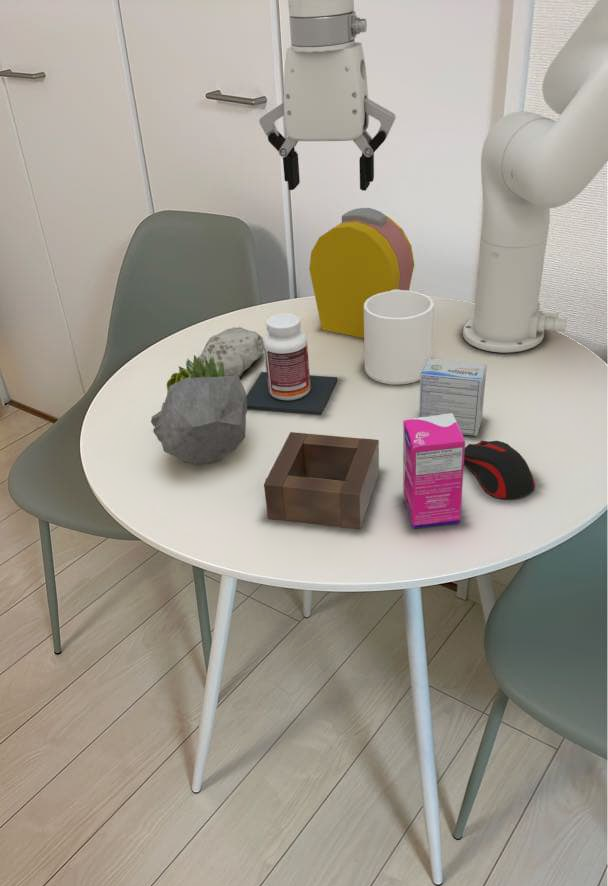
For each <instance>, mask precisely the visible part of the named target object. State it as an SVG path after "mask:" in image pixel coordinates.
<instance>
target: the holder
mask: <svg viewBox="0 0 608 886" xmlns="http://www.w3.org/2000/svg"><path fill="white" fill-rule="evenodd" d="M285 440H286V441H285V442H284V444H283V446H282V448H281V450H280V451H279V454H278V455H277V457H276V459H275V461H274V464H273V465H272V467H271V469H270V471H269V473H268V475H267V477H266V479H265V481H264V483H263V489H264V497H265V505H266V513H267V519H271V520H279V521H280V520H281V521H289V522H297V523H305V524H313V525H323V526H324V525H325V526H330V527H331V526H332V527H338V528H339V527H340V528H341V527H342V528H347V529H354V530H361V529H362V526H363V523H364V520H365V517H366V514H367V509H368V508H369V504H370V502H371V498H372V495H373V492H374V489H375V486H376V484H377V480H378V478H379V474H380V440H379V439H374V438H372V439H371V438H363V437H361V438H359V437H352V436H351V437H350V436H349V437H348V436H338V435H337V436H336V435H327V434H318V433H317V434H315V433H306V432H295V431H290V432H289V434H288V436H287V437H286V439H285Z"/></svg>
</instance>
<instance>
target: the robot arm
mask: <svg viewBox="0 0 608 886" xmlns="http://www.w3.org/2000/svg"><path fill="white" fill-rule="evenodd" d="M287 1H288V3H287V5H288V15H289V16H288V17H289V31H290V32H289V33H290V46H288V47H287V48H286V51H285V60H284V73H283V74H284V75H283V76H284V78H283V81H284V82H283V102H282V103H280V104H279V105H277V106H276V107H275V108H272V109H271V110H270V111H268V112H267V113H265V114H263V116H261V117H260V118H259V121H258V122H259V125H260V126H261V129H262V130H263V132H264V134H265V136H266V137H267V140H268V142H269V144H270V145H272V147H273V148H274V149H275V150H276V151H277V152H278V155H279V156H280V157H281V158H282V166H283V176H284V181H285V182H287V186H288V187H287V188H288V191H294V190H295V189H296V188H297V187H298V186H299V185H300V183H301V182H300V181H301V179H300V178H301V177H300V165H299V153H298V152H297V151H296V150H295V148H296V146H297V144H299V142H350V141H353V143H354V144H355V145H356V146H357V148H358V149H359V150H360V151H361V156H360V157H359V160H358V161H359V190H360V191H363V192H364V191H367V190H368V188H369V187H370V185H371V183H373V181H374V178H375V152H377V150H378V149H379V148H380V146H381V145H382V144H383V143H384V142H385V140H386V139H387V138H388V136H389V134H390V132H391V129H392V128H393V125H394V123H395V121H396V118H397V117H396V114H395V113H394V112H392V111H391V110H389V109H387V108H385V107H384V106H382V105H380V104H379V103H376V102H375V101H373V100H371V99H369V92H368V91H369V89H368V88H369V87H368V79H367V77H368V76H367V68H366V61H365V60H366V59H365V55H364V49H363V45H362V42H358V41H355V39H356V38H357V36H358V35H360V34H361V33H366V32H367V26H368V23H367V18H360V17H358V15H356V12H357V11H356V10H355V0H287ZM541 91H542V97H543V100H544V102H545V104H546V105H547V106H548V107H549V109H551V111H552V112H555V113H556V114H558V115H559V116H558V118H557V119H556V120H554V119H552V118H549V117H546V116H544V115H541V114H538V113H534V112H532V111H524V110H523V111H514V112H511V113H508V114H505V115H504V116H502V117H501V118H500V119H498V120H497V121H496V122H495V123H494V124H493V125H492V127H491V128H490V129H489V131H488V133H487V134H486V136H485V139H484V141H483V145H482V150H481V156H480V174H481V175H480V176H481V190H482V215H481V216H482V217H481V230H480V240H479V251H478V252H479V253H478V264H477V275H476V276H477V277H476V288H475V302H474V313H473V317H472V318H471V319H469V320H467V321H466V322H465V323H464V325H463V326H462V327H463V328H462V337H463V338H464V340H465V341H466V342H467V343H468V344H469V345H471V346H472V347H474V348H477V349H480V350H483V351H486V352H491V353H506V354H507V353H518V352H524V351H527V350H530V349H533V348H535V347H537V346H538V345H539V344H541V343H542V341H543V339H544V337H545V331H553V332H566V329H567V328H566V327H567V320H568V319H567V318H562V317H559V314H560V313H558V312H544V311H543V310H540V305H541V302H539V300H540V291H541V286H542V285H541V284H542V278H543V271H544V262H545V256H546V251H547V250H546V249H547V242H548V237H549V230H550V219H551V209H554V208H559V207H562V206H564V205H566V204H568V203H570V202H572V201H573V200H574V199H575V198H576V197H578V195H580V194H581V193H582V192H583V191H584V190H585V189H587V187H588V185H589V184H590V183H591V182H592V181H593V180H594V178H595V177H596V176H597V175H598V173H600V172H601V170H602V169H603V168H604V166H606V164H607V163H608V0H597V1H596V2H595V3H594V5H593V7H592V8H591V9H590V11H589V12H588V13H587V14H586V16H585V17H584V19H583V20H582V21H581V23H580V24H579V25H578V27H577V28H576V30H575V31H574V32H573V33H572V34H571V36H570V37H569V39H568V40H567V41H566V42H565V44H564V45H563V46H562V48H561V49H560V51H559V52H558V53H557V54H556V55H555V57H554V58H553V59H552V61H551V63H550V65H549V66H548V67H547V70H546V72H545V73H544V77H543V81H542V87H541ZM282 117H284V118H283V119H284V129H285V134H286V138H285V137H284V136H283V134H282V133H281V132H280V131H278V129H277V127H276V123H275V122H276V121H277V120H279V119H280V118H282ZM370 117H372V118H374V119H375V120H377V121H378V122H380V126H379V128H378V131H377V133H376V134H375V135H374V136H373V137H372V136H371V135H370V133H369V132H368V131H367V129H368V128H369V125H370Z"/></svg>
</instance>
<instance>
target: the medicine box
mask: <svg viewBox="0 0 608 886" xmlns="http://www.w3.org/2000/svg"><path fill="white" fill-rule="evenodd" d="M487 368H488V365H487V364H486V363H484V362H473V361H464V360H454V359H453V360H451V359H442V358H441V359H439V358H431V359H427V362H426V364H425V366H424V368H423V370H422V372H421V374H420V380H419V381H420V382H419V408H418V410H419V411H418V418H420V417H428V416H435V415H442V414H449V413H453V415H454V417H455V419H456V422H457V424H458V426H459V428H460V430H461V433H462V435H463V436H464V435H465V436H474V437H477V436H478V435H479V432H480V431H479V430H480V427H481V424H482V421H483V413H484V401H485V400H484V398H485V391H486V389H485V388H486V380H487V379H486V378H487Z"/></svg>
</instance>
